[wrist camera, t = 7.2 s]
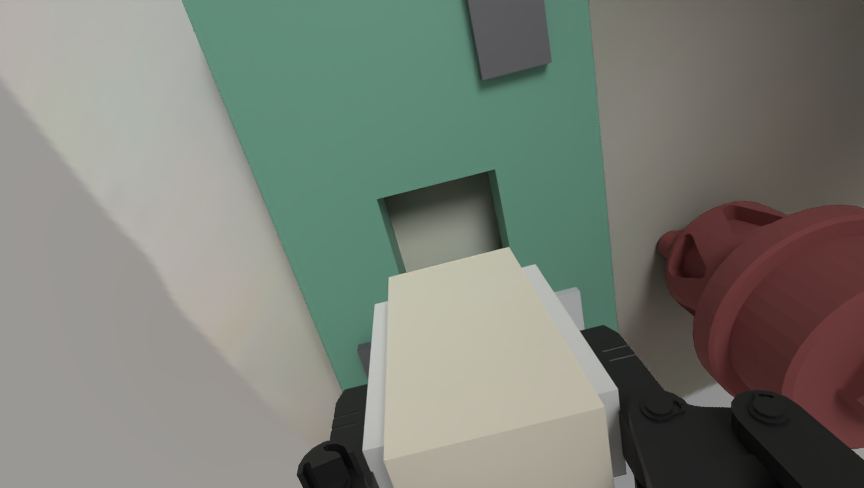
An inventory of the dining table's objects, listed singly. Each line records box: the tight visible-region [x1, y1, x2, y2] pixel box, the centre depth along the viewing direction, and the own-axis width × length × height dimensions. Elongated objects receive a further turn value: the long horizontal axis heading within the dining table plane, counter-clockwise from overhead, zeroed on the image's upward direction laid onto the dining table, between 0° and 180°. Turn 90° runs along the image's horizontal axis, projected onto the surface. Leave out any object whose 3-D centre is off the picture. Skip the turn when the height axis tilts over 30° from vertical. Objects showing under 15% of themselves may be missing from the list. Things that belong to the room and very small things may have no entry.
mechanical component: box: [658, 201, 864, 449], centre depth 22 cm, size 12×10×10 cm
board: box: [182, 0, 618, 391], centre depth 23 cm, size 22×16×4 cm
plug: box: [383, 247, 614, 488], centre depth 13 cm, size 5×4×8 cm
